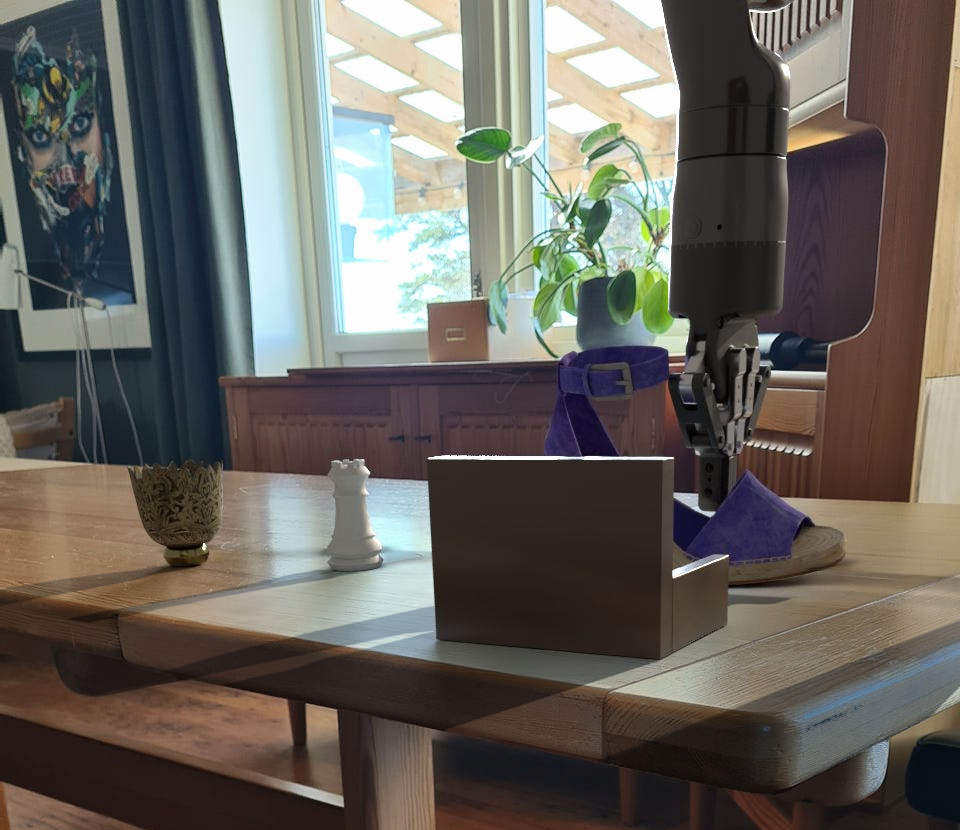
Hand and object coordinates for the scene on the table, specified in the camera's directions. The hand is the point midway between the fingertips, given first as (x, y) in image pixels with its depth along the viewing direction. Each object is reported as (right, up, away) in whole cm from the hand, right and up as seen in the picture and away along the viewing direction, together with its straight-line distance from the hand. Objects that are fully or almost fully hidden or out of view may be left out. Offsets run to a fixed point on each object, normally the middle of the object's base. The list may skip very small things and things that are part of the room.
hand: (716, 509), depth 91 cm
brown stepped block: (-11, -12, -17) cm, 23 cm away
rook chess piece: (-26, -2, +10) cm, 28 cm away
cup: (-41, -1, +15) cm, 43 cm away
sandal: (-1, -4, -1) cm, 5 cm away
